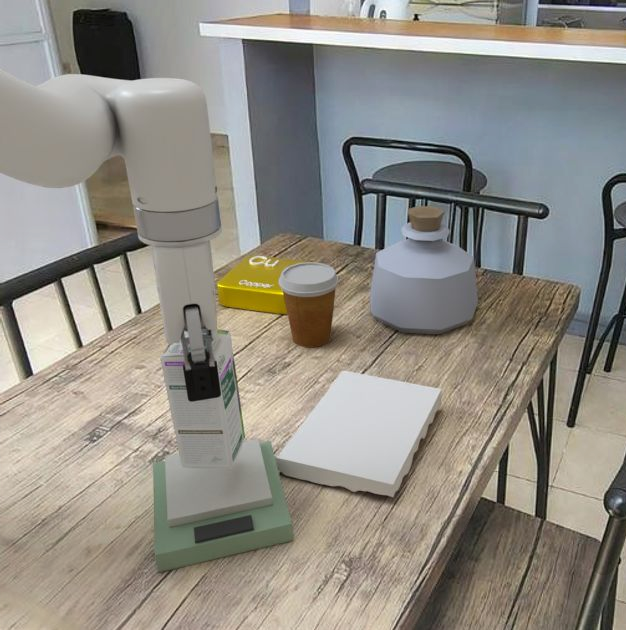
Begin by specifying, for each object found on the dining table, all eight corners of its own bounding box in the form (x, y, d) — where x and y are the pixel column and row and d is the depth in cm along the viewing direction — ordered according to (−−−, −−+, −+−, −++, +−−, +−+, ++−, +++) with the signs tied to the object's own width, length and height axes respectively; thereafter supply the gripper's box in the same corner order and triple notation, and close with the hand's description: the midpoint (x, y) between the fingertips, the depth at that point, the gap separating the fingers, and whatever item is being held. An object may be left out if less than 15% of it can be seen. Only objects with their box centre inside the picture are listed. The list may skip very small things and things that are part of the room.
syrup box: (233, 470, 74) (218, 356, 67) (179, 468, 74) (158, 354, 67) (245, 437, 79) (232, 328, 73) (195, 436, 79) (177, 327, 73)
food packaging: (393, 506, 80) (441, 408, 97) (393, 484, 79) (441, 389, 95) (279, 478, 84) (343, 389, 101) (276, 457, 83) (342, 370, 99)
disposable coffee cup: (317, 319, 120) (314, 256, 115) (351, 339, 114) (350, 274, 109) (271, 337, 114) (265, 271, 109) (305, 359, 108) (301, 291, 103)
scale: (158, 572, 70) (152, 547, 69) (156, 479, 83) (151, 455, 81) (293, 540, 75) (291, 516, 73) (272, 456, 87) (270, 433, 85)
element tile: (214, 306, 124) (211, 282, 121) (250, 273, 137) (248, 251, 134) (292, 316, 121) (291, 292, 119) (321, 282, 134) (320, 259, 132)
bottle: (350, 298, 128) (348, 201, 119) (442, 280, 136) (446, 188, 127) (396, 347, 112) (397, 240, 103) (496, 324, 120) (505, 222, 111)
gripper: (136, 194, 70) (162, 343, 78) (134, 257, 55) (167, 433, 64) (212, 188, 72) (230, 334, 80) (229, 247, 58) (248, 418, 66)
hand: (202, 376), depth 72 cm, fingers closed on syrup box, 7 cm apart
